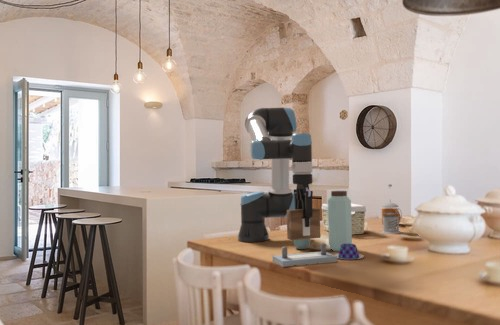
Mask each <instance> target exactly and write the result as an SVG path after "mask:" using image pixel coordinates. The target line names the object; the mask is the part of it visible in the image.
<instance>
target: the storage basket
mask: <svg viewBox="0 0 500 325" xmlns="http://www.w3.org/2000/svg"><path fill="white" fill-rule="evenodd" d="M321 209H322V219H323V221H322V222H323V230H325V231H326V232H329V228H328V203H322V205H321ZM366 212H367V210H366V205H362V204H357V203H352V202H351V228H352V236H353V235H362V234H364V232H365V219H366V218H365V217H366Z"/></svg>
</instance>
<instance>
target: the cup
mask: <svg viewBox="0 0 500 325" xmlns="http://www.w3.org/2000/svg"><path fill="white" fill-rule="evenodd" d="M292 241H293V246H294V247H295V249H297V250H307V249H308V248H309V247H310V245H311V239H299V240H292Z"/></svg>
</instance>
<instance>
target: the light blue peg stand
mask: <svg viewBox="0 0 500 325" xmlns="http://www.w3.org/2000/svg"><path fill="white" fill-rule="evenodd" d="M272 262H274V263H276V264H277V265H279V266H280V267H282V268H284V267H295V266H294V265H297V266H305V265H306V264H307V265H315V264H316V265H317V263H318V264H325V263H326V264H327V263H328V264H329V263H336V262H338V258H337V256H335V254H332V253H331V252H328V251H327V244H326V243H320V251H313V252H301V253H288V246H282V247H281V254H277V255H272Z"/></svg>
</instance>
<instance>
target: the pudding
mask: <svg viewBox="0 0 500 325" xmlns="http://www.w3.org/2000/svg"><path fill="white" fill-rule="evenodd" d="M338 252H339V253H335V254H334V255H335V256H337V259H340V260H348V261H349V260H359V259H363V258H364V257H365V255H364V254H361V253H359V251H358V247H357V245H356V244H354V243H352V244H342V245H341V247H340V251H338Z"/></svg>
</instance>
